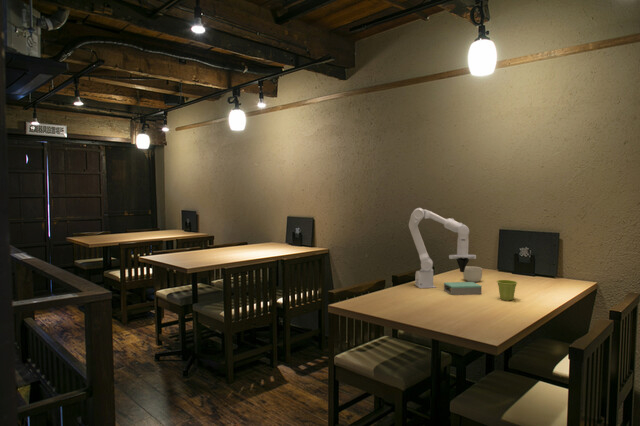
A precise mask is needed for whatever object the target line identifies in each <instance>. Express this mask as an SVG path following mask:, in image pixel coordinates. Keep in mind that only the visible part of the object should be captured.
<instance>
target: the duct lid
mask: <svg viewBox="0 0 640 426" xmlns="http://www.w3.org/2000/svg"><path fill="white" fill-rule="evenodd" d="M444 284H445V285H447V286H449V287H451V288H480V287H481V288H482V285H480V284H478V283H477V282H468V281H456V282H455V281H451V282H449V281H446V282H443V285H444Z"/></svg>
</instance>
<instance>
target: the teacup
mask: <svg viewBox="0 0 640 426" xmlns="http://www.w3.org/2000/svg"><path fill="white" fill-rule="evenodd" d="M462 275H463V279H464V280H465V282H474V283H478V282H480V281H481V280H482V279H483V267H480V266H467V265H466V267H465V270H464V272H462Z"/></svg>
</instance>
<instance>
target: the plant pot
mask: <svg viewBox="0 0 640 426" xmlns="http://www.w3.org/2000/svg"><path fill="white" fill-rule="evenodd" d="M496 283H497V286H498V291H499V293H498V294H499V299H500V300H501V299H502V300H504V301H510V300H511V301H513V300H514V298H515V292H516V287H517V284H518V281H515V280H510V279H498V280H496Z"/></svg>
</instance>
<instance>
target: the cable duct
mask: <svg viewBox="0 0 640 426" xmlns="http://www.w3.org/2000/svg"><path fill="white" fill-rule="evenodd" d="M482 290H483V289H482V287H480V288H451V287H449V286H447V285H445V284H444V283H443V291H444V292H445V293H447V294H449V295H451V296H464V295H465V296H467V295H468V296H469V295H470V296H471V295H482Z"/></svg>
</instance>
